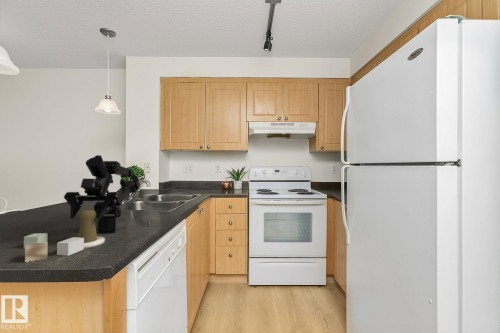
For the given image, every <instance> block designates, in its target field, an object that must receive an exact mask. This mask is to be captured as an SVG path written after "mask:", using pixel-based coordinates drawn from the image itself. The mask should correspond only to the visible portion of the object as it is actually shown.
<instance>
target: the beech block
mask: <svg viewBox="0 0 500 333" xmlns="http://www.w3.org/2000/svg"><path fill="white" fill-rule="evenodd" d="M48 247H49V246H48V241H47V242H42V243H36V244H29V245H26V248H24V249H25V250H24V255H25V256H24V263H25V262H26V263H30V262H29V261H31V262H36V261H35V260H37V261H40V260H41V259H42V260H48V252H49V251H48Z"/></svg>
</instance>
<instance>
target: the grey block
mask: <svg viewBox="0 0 500 333" xmlns="http://www.w3.org/2000/svg"><path fill="white" fill-rule="evenodd" d="M83 250H85V248H84V238H78V236H77V237H75V236H74V237H73V236H72V237H70V238H67V239H64V240H61V241H59V242H57V243H56V255H57V256H71V255H73V254H75V253H78V252H80V251H83Z"/></svg>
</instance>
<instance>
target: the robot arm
mask: <svg viewBox="0 0 500 333" xmlns="http://www.w3.org/2000/svg"><path fill="white" fill-rule="evenodd" d="M85 165H86V167H87V169H88V171H89V173H90V174H91V176H93V177H94V178H82V180H81V184H80V188H82V189H83V193H84V194H85V195H81V193H80V192H79V191H66V192H65V194H64V196H63V198H64V200H65V201H66V202H67V204H68V206H69V207H70V216H69V217H70V218H71V219H74V218H75V217H76V215H77V214H78V212H79V211H80V209H81V208H82V204H83V203H84V202H94V203H95V204H94V206H93V210H94V211H95V212H96V217H95V219H98V221H97V234H112V233H116V232H117V231H119V230H120V228H119V227H118V223H119V222H118V221H119V220H118V218H121V216H122V214H123V213H122V212H123V211H122V208H121V207H120V206H122V203H123V201H124V200H125V199H126V198H127V197H128V196H129V195H130V194H134V193H137V192H138V191H140V190H139V189H140V188H141V181H140V178H139V177H138V176H137V175H136V174H135V173H134V170H133V169H131V168H127V167H126V166H125V167H124V166H123V165H122V164H121V163H120V162H118V161H117V160H104V159H103V157H102V155H98V154H97V155H95V156H94V157H91V158H89V159H87V160H86V161H85ZM121 165H122V166H121ZM113 175H116V176H120V177H121V178H120V180H119V184H120V188H118V190H116V191H109V187H110V185H111V184H114V179H113V177H114V176H113ZM124 178H130V179H131V180H130V179H129V180H127V179H126V180H124Z"/></svg>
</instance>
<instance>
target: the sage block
mask: <svg viewBox="0 0 500 333" xmlns="http://www.w3.org/2000/svg"><path fill="white" fill-rule="evenodd" d="M42 242H48V233H47V232H44V233H43V232H42V233H41V232H39V233H37V232H36V233H34V232H33V233H30V234H28V235H26V236H23V249H25V248H26V245H29V244H36V243H42Z"/></svg>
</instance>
